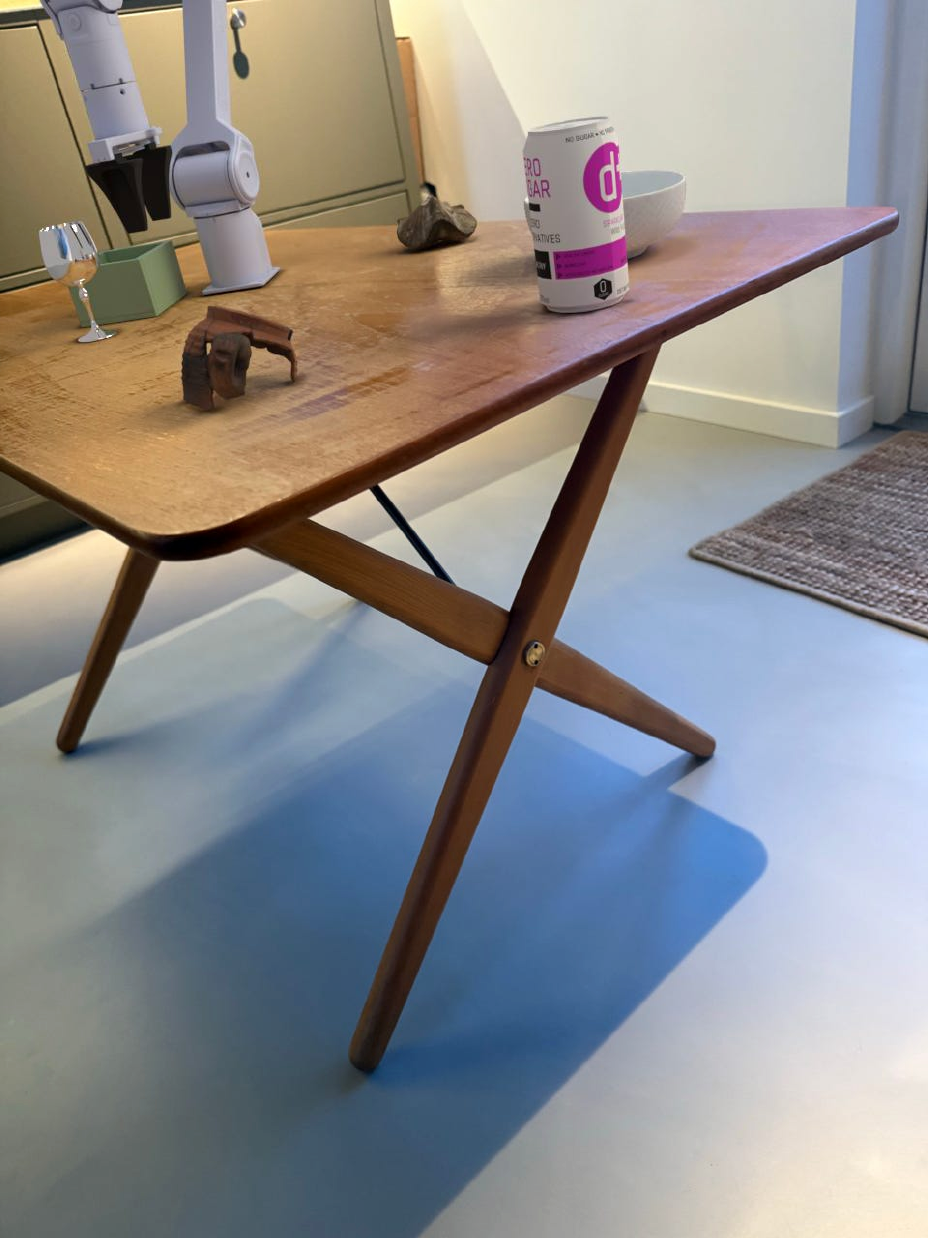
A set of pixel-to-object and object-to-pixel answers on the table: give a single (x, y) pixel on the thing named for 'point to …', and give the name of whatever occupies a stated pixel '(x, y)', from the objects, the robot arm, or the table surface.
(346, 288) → the table surface
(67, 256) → the wineglass
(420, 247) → the fossilized seashell
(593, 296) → the supplement can
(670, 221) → the cereal bowl
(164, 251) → the bin
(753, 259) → the table surface
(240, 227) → the robot arm
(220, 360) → the reddish-brown arched part
